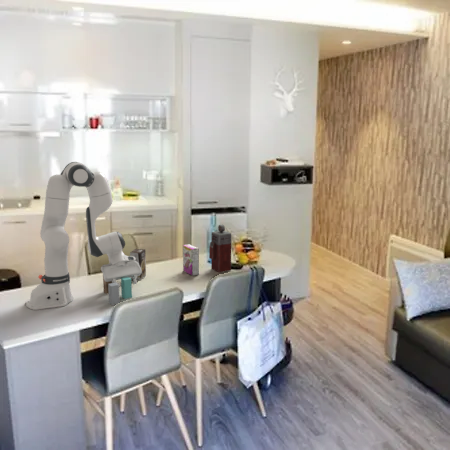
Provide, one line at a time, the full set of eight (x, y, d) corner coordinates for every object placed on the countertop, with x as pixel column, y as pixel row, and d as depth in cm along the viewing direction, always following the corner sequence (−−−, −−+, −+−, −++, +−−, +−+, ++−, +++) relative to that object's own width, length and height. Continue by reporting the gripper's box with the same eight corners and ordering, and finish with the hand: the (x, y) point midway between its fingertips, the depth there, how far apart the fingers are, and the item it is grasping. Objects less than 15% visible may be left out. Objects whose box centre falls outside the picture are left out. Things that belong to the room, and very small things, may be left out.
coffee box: (140, 280, 293) (140, 253, 289) (130, 279, 294) (129, 252, 290) (146, 275, 301) (145, 249, 298) (136, 274, 303) (135, 248, 299)
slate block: (112, 305, 254) (111, 286, 252) (108, 302, 258) (108, 283, 255) (119, 303, 257) (118, 284, 254) (116, 301, 260) (115, 282, 258)
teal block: (124, 298, 263) (124, 280, 261) (121, 296, 267) (120, 278, 264) (131, 297, 266) (131, 278, 263) (128, 295, 269) (128, 276, 267)
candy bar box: (182, 271, 310) (182, 244, 307) (189, 269, 313) (189, 243, 310) (192, 276, 301) (191, 249, 298) (199, 274, 304) (199, 247, 300)
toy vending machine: (207, 269, 315) (208, 224, 309) (223, 266, 321) (223, 222, 315) (215, 273, 307) (215, 227, 301) (231, 270, 313) (231, 225, 307)
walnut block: (106, 293, 270) (105, 275, 268) (103, 291, 273) (102, 273, 271) (113, 292, 272) (113, 274, 270) (110, 290, 276) (110, 272, 274)
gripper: (101, 262, 262) (109, 285, 256) (137, 256, 273) (146, 278, 268) (98, 268, 267) (106, 291, 261) (134, 262, 278) (142, 284, 272)
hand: (126, 285), depth 264 cm, fingers open, 8 cm apart
